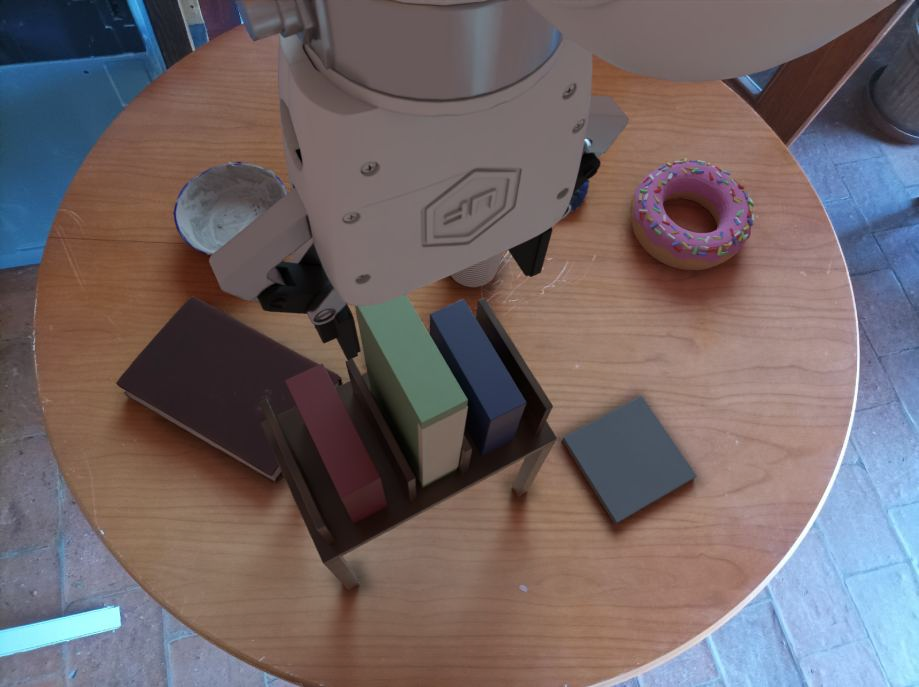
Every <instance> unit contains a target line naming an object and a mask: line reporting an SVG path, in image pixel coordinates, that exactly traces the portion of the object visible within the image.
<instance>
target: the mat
mask: <svg viewBox="0 0 919 687" xmlns="http://www.w3.org/2000/svg"><path fill="white" fill-rule="evenodd" d="M561 441H562V443H563V445H564V446H565V447H566V449H567V451H568V452H569V454H570V455H571V457H572V458H573V460H574V461H575V463H576V465H577V466H578V468H579V470H580V471H581V473H582V474H583V476H584V478H585V479H586V481H587V483H588V484H589V486H590V488H591V489H592V491H593V492H594V494H595V495H596V497H597V499H598V500H599V502H600V503H601V505H602V507H603V508H604V510H605V511H606V513H607V514H608V516H609V519H610V520H611V521H612V522H613V523H614V525H616V524H619V523H621V522H622V521H624V520H625V519H627V518H629V517H630V516H632V515H634V514H636V513H637V512H639V511H641V510H643V509H644V508H646V507H647V506H649V505H651V504H653V503H654V502H657V501H658V500H660V499H662V498H663V497H665V496H667V495H668V494H670V493H671V492H673V491H675V490H677V489H679V488H680V487H682V486H684V485H686V484H687V483H689V482H690V481H693V480H694V479H696V477H697V476H698V475H697V474H696V472H695V471H694V469H693V468H692V467H691V465H690V464H689V462H688V461H687V459H686V458H685V456H684V455H683V453H682V452H681V451H680V449H679V448H678V446H677V445H676V444H675V441H674V440H673V439H672V438H671V436H670V435H669V433H668V432H667V430H666V429H665V428H664V425H662V423H661V422H660V420H659V419H658V418H657V416H656V415H655V413H654V412H653V410H652V409H651V407H650V406H649V405H648V403H647V401H646V400H645V399H644V397H643V396H642V395H639V396H638V397H636V398H634V399H632V400H630V401H628V402H626V403H625V404H623V405H621V406H619V407H617V408H615V409H614V410H612V411H609V412H608V413H606V414H604V415H602V416H600V417H599V418H597V419H595V420H593V421H591V422H589V423H587V424H586V425H584V426H582V427H580V428H578V429H576V430H574V431H572V432H571V433H569V434H567V435H565V436H563V437H562V439H561Z"/></svg>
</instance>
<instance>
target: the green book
mask: <svg viewBox="0 0 919 687" xmlns="http://www.w3.org/2000/svg"><path fill="white" fill-rule="evenodd" d="M354 309H355V314H356V321H357V326H358V331H359V336H360V341H361V345H362V352H363V356H364V363H365V367H366V373H368V378H369V383H370V389H371V391H372V393H373V395H374V397H375V399H376V401H377V403H378V405H379V407H380V408H381V410H382V412H383V414H384V416H385V418H386V420H387V422H388V424H389V425H390V427H391V429H392V431H393V433H394V435H395V437H396V439H397V441H398V443H399V444H400V446H401V448H402V450H403V452H404V454H405V456H406V458H407V460H408V461H409V463H410V465H411V467H412V469H413V471H414V473H415V475H416V477H417V479H418V480H419V482H420V484H421V486H422V487H425V486H427V485H428V484H430V483H432V482H434V481H436V480H438V479H440V478H442V477H444V476H446V475H447V474H449V473H451V472H453V471H455V470H457V467H458V465H459V459H460V453H461V446H462V440H463V434H464V428H465V422H466V416H467V410H468V407H467V402H468V399H467V398H466V396H465V394H464V393H463V391H462V389H461V387H460V386H459V384H458V382H457V381H456V379H455V377H454V375H453V374H452V372H451V370H450V369H449V367H448V365H447V364H446V362H445V360H444V358H443V357H442V355H441V353H440V352H439V350H438V348H437V346H436V345H435V343H434V341H433V340H432V338H431V336H430V332H429V330H428V329H427V328H426V326H425V325H424V323H423V321H422V319H421V318H420V316H419V314H418V312H417V311H416V309H415V307H414V306H413V304H412V302H411V299H409V297H408V294H405V295H403V296H400V297H398V298H395V299H393V300H390V301H387V302H384V303H381V304H377V305H371V306H354Z"/></svg>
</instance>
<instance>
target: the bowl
mask: <svg viewBox="0 0 919 687" xmlns="http://www.w3.org/2000/svg"><path fill="white" fill-rule="evenodd" d="M287 193H289V191H288V190H287V188H286V186H285V185H284V183H283V181H282V180H281V178H279V177H278V176H277V174H276V172H275V171H273V170H271V169H269V168H265V167H263V166H259V165H257V164H251V163H248V162H242V161H236V162H232V161H228V162H226V163H225V164H220V165H215V166H213V167H210V168H208V169H206V170H204V171H202V172H200V173H198V174H196V176H195V177H193V178H191V179H190V180H189V181H187V182H186V183H185V184H184V185H183V188H181V190H180V191H179V194H178V196H177V197H176V202H175V204H174V208H173V212H172V215H173V219H174V223H175V228H176V231H177V233H178V234H179V236H180V237H181V239H182V240H183V241H184V242H185V244H187V245H188V246H189V247H191V249H193V250H195V251H197V252H199V253H201V254H204V255H206V256H210V257H211V256H212V255H213V254H214V253H215V252H216V251H217V250H218V249H220V248H221V247H222V246H223V245H225V244H226V243H227V242H228V241H230V240H231V239H232V238H233V237H234V236H236V235H237V234H238V233H239V232H241V231H242V230H243V229H244V228H246V227H247V226H248V225H249V224H250V223H252V222H253V221H254V220H255V219H257V218H258V217H259V216H260V215H262V214H263V213H264V212H265V211H266V210H268V209H269V208H270V207H271V206H273V205H274V204H275V203H276V202H277V201H279V200H280V199H281V198H282V197H284V196H285V195H286V194H287Z"/></svg>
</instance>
